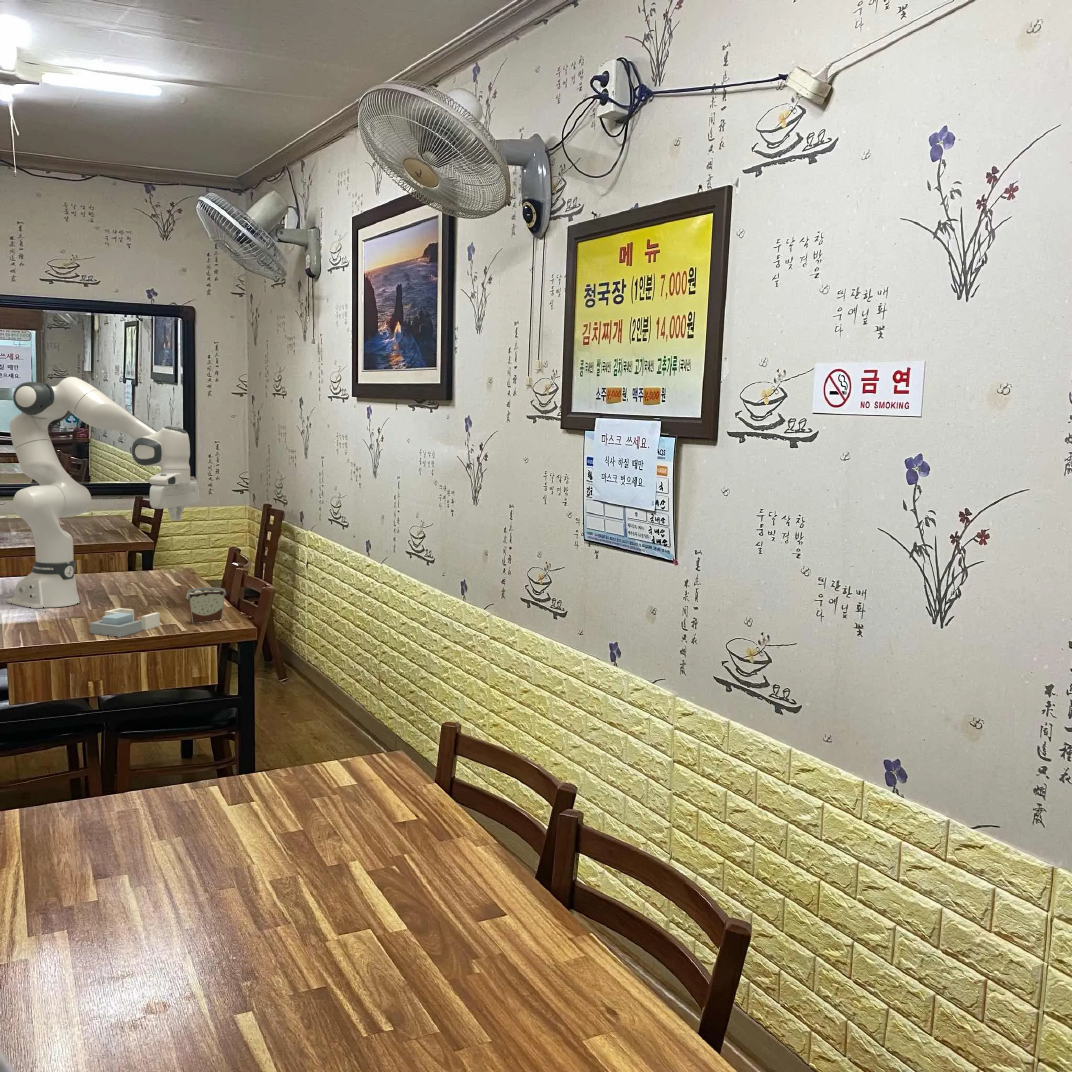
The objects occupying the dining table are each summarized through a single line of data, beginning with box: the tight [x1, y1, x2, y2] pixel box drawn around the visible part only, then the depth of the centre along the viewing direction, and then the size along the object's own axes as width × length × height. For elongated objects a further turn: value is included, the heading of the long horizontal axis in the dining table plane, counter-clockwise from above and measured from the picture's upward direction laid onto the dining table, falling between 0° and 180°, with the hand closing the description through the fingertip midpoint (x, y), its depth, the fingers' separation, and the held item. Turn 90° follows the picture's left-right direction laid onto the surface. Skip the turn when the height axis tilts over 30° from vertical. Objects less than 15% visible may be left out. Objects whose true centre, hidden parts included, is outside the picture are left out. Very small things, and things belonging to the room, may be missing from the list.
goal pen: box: [89, 619, 143, 638], centre depth 283 cm, size 10×9×3 cm
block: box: [101, 612, 133, 625], centre depth 284 cm, size 5×7×5 cm
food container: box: [185, 586, 227, 623], centre depth 302 cm, size 12×6×10 cm, turn 131°
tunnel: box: [104, 607, 161, 631], centre depth 292 cm, size 15×6×4 cm, turn 71°
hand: (176, 520), depth 314 cm, fingers closed
